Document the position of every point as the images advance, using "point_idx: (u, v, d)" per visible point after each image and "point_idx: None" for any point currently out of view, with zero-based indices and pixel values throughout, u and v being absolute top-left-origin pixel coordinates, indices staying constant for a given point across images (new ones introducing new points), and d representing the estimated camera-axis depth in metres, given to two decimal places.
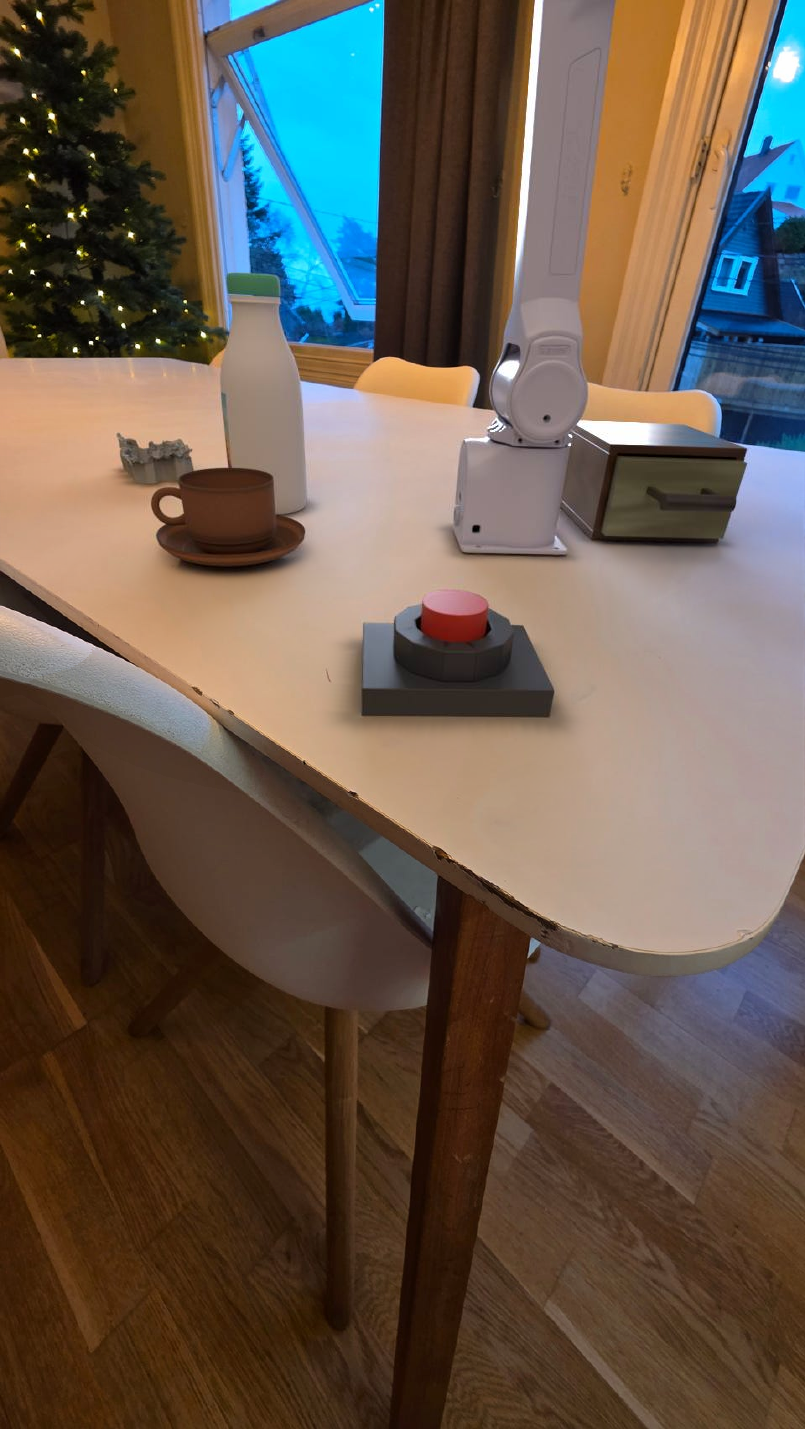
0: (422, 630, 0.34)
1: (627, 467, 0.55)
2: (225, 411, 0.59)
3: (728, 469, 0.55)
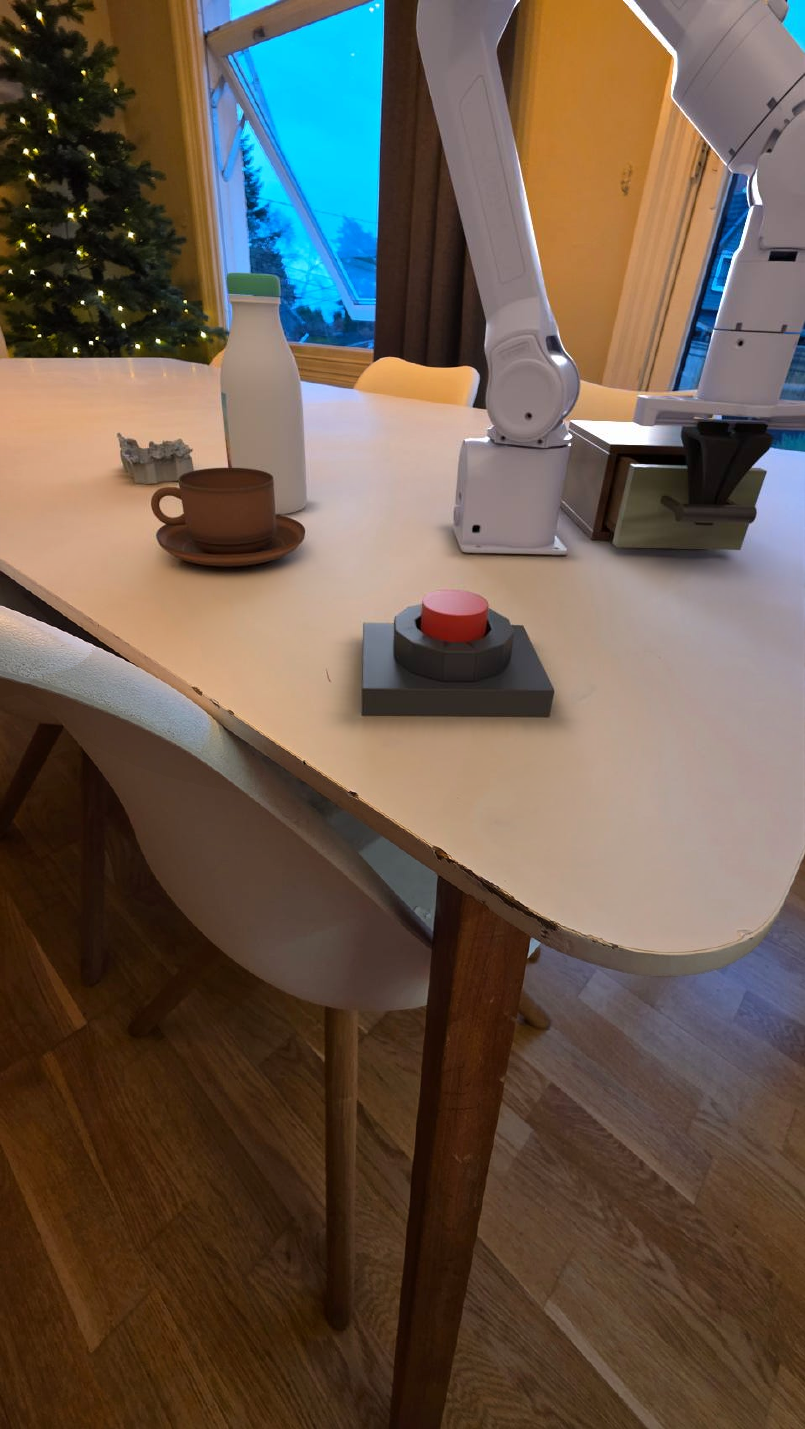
0: (422, 630, 0.34)
1: (640, 475, 0.52)
2: (225, 411, 0.59)
3: (746, 478, 0.53)
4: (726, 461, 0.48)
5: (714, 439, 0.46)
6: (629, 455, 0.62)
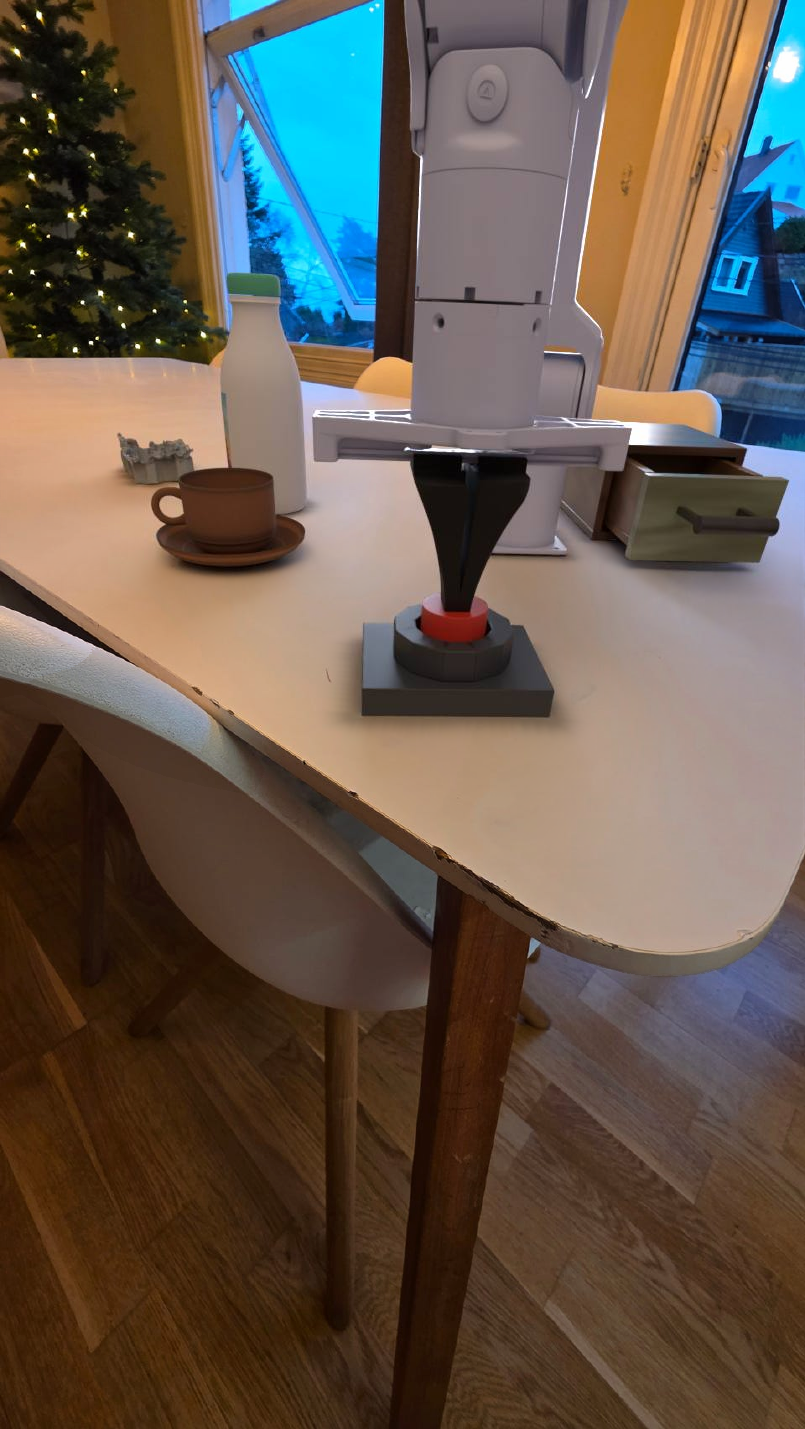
0: (422, 632, 0.34)
1: (656, 485, 0.49)
2: (225, 411, 0.59)
3: (767, 487, 0.50)
4: (460, 518, 0.29)
5: (426, 485, 0.28)
6: (641, 462, 0.60)
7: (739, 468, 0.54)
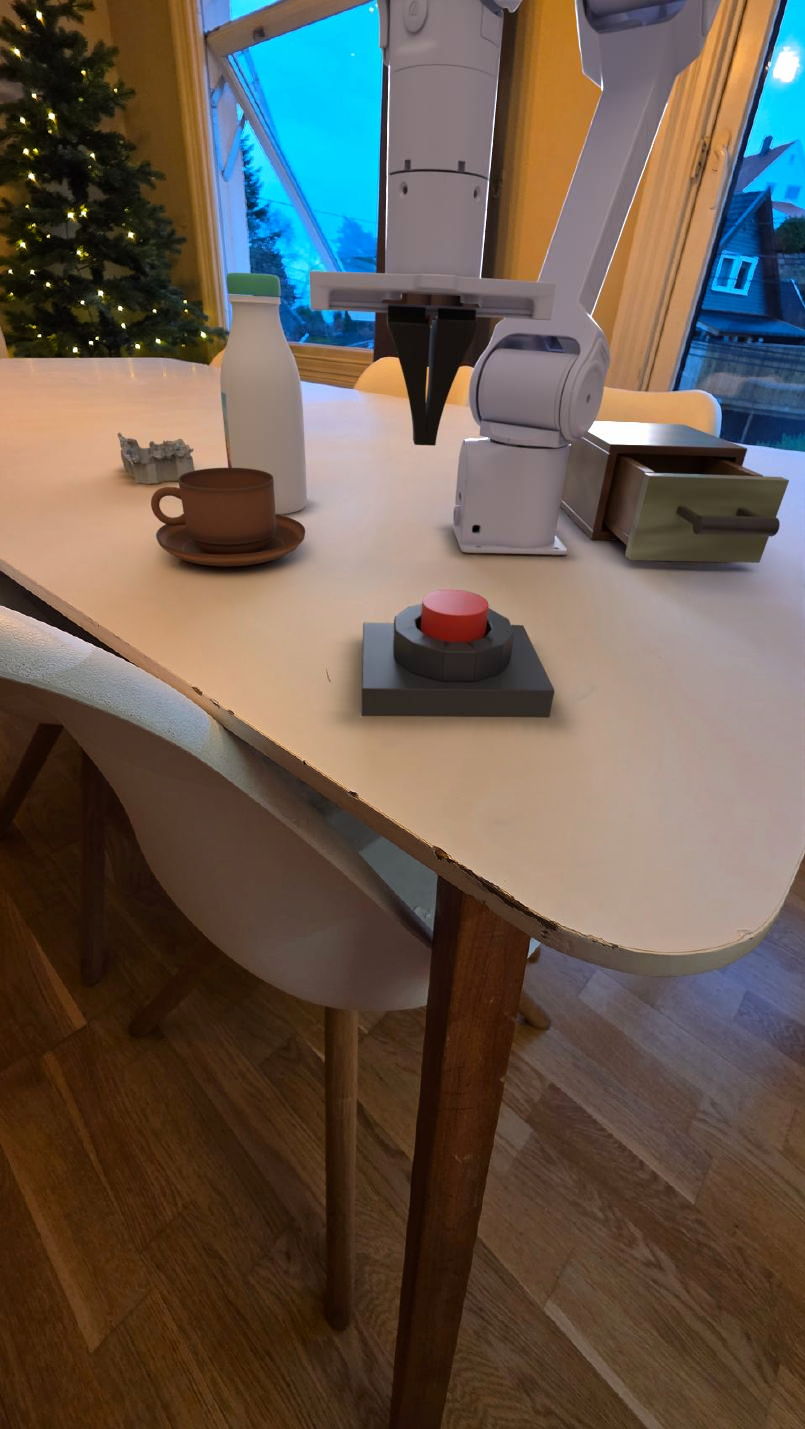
0: (422, 630, 0.34)
1: (656, 485, 0.49)
2: (225, 411, 0.59)
3: (767, 487, 0.50)
4: (424, 356, 0.38)
5: (396, 324, 0.36)
6: (641, 462, 0.60)
7: (739, 468, 0.54)
